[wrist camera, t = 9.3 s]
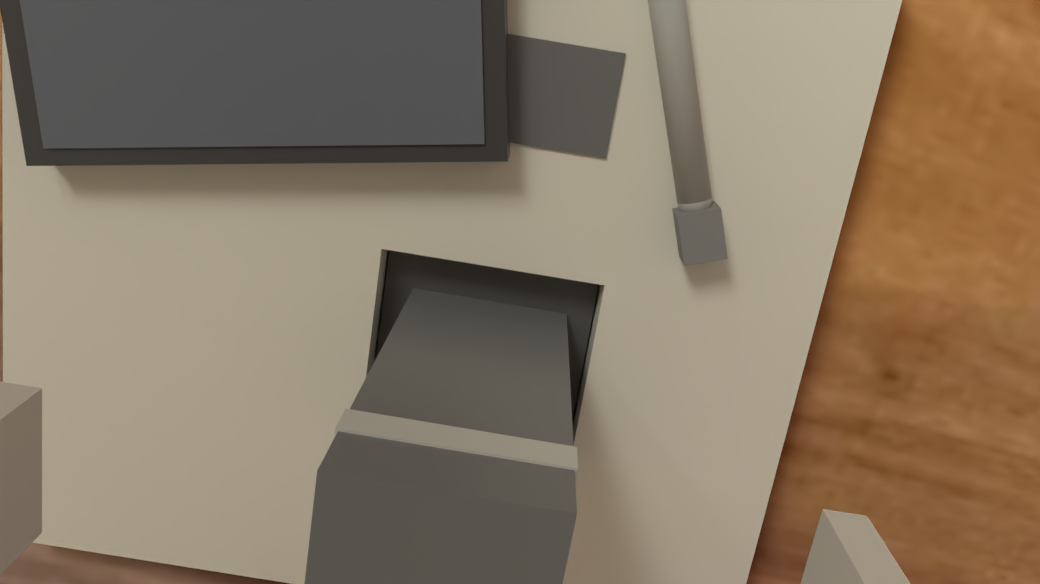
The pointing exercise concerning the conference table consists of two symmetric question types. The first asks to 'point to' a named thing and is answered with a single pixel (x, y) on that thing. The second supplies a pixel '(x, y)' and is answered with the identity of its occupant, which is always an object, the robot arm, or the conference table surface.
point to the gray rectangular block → (453, 453)
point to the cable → (685, 137)
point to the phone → (259, 81)
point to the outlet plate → (458, 271)
